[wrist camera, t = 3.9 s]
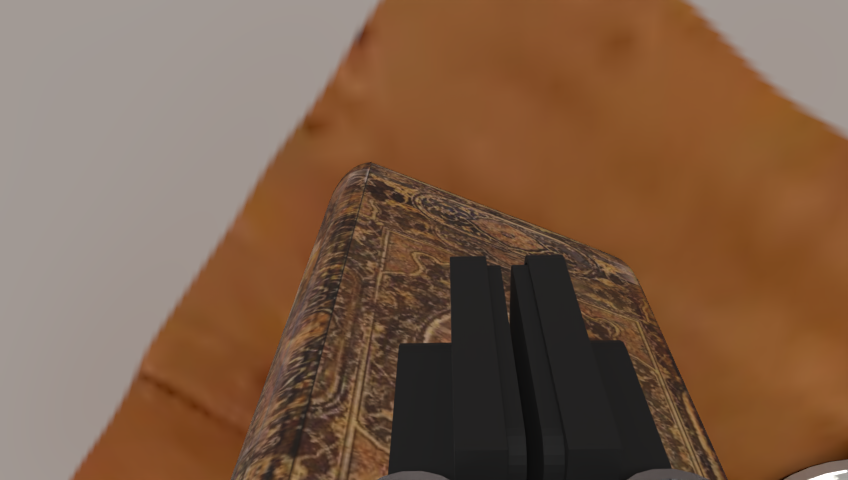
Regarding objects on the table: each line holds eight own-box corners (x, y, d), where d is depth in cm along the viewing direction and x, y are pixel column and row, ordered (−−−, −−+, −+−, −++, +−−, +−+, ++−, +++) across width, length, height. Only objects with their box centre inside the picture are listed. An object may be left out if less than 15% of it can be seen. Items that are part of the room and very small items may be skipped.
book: (315, 240, 40) (146, 711, 18) (347, 153, 37) (199, 571, 15) (582, 336, 42) (731, 859, 20) (629, 260, 40) (857, 758, 18)
